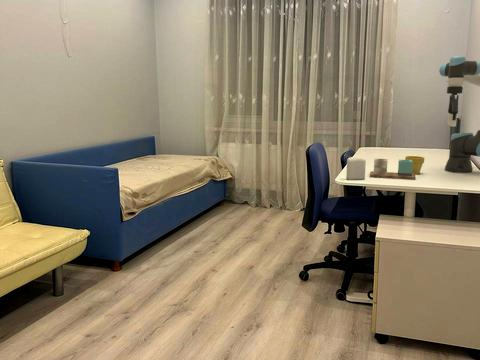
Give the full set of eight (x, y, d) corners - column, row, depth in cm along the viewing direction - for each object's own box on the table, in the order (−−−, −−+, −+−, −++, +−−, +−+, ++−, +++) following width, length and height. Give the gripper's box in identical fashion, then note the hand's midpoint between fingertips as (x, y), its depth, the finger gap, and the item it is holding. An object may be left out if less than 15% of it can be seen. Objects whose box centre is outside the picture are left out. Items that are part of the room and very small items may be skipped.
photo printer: (347, 180, 237) (348, 157, 235) (345, 178, 241) (346, 156, 239) (366, 179, 238) (367, 157, 236) (363, 178, 242) (364, 156, 240)
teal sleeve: (397, 173, 249) (398, 159, 248) (411, 174, 247) (412, 160, 245) (397, 175, 242) (398, 161, 241) (411, 176, 240) (412, 161, 239)
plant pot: (424, 172, 260) (425, 156, 258) (421, 175, 251) (422, 158, 249) (406, 171, 265) (407, 155, 263) (402, 173, 256) (403, 157, 255)
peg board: (414, 176, 249) (415, 159, 247) (415, 179, 237) (416, 162, 236) (370, 173, 256) (371, 157, 254) (369, 177, 245) (370, 160, 243)
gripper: (444, 86, 248) (441, 124, 252) (450, 85, 225) (446, 127, 229) (459, 86, 246) (455, 124, 250) (466, 85, 223) (462, 127, 227)
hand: (451, 125), depth 240 cm, fingers open, 13 cm apart
